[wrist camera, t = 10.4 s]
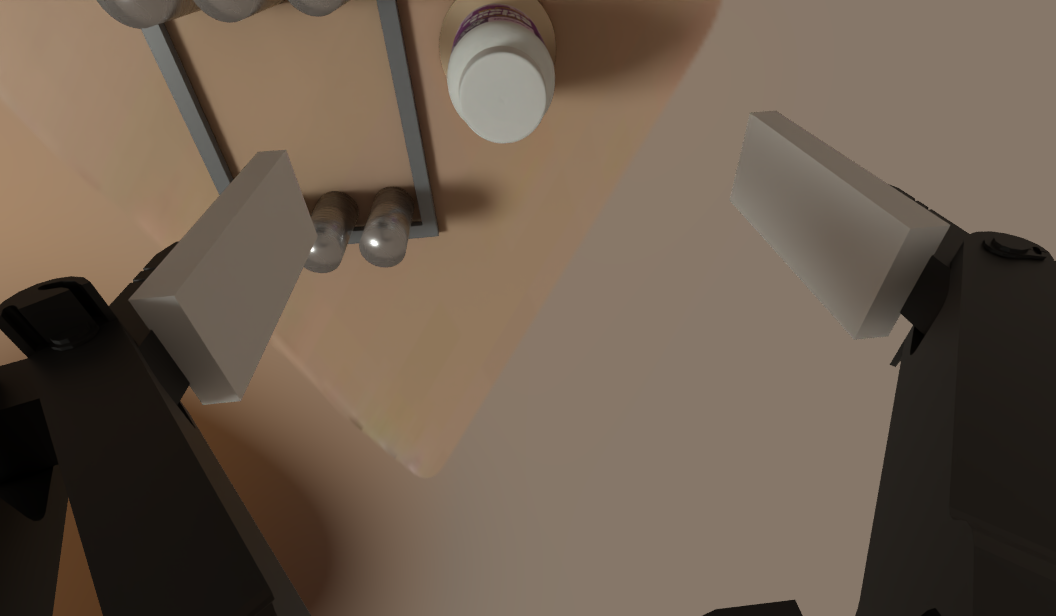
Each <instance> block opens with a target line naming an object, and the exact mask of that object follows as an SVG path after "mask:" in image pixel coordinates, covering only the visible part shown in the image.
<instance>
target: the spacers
mask: <svg viewBox="0 0 1056 616" xmlns="http://www.w3.org/2000/svg"><path fill="white" fill-rule="evenodd" d="M97 1H98V3H99V4H100V5H101V7H102V8H103V9H104V10H105V11H106V12H107V13H108V14H109V15H110V16H111V17H113V18H114V19H116V20H117V21H119V22H120V23H122V24H124V25H127V26H129V27H133V28H139V29H143V28H149V27H152V26H155V25H158V24H161V23H164V22H167V21H170V20H173V19H176V18H179V17H182V16H185V15H188V14H191V13H194V12H197V11H200V10H202V11H204V12H205V13H206V14H207V15H209V16H211V17H212V18H214V19H217V20H219V21H223V22H237V21H240V20H242V19H245V18H247V17H249V16H252V15H254V14H256V13H259V12H261V11H263V10H266V9H268V8H270V7H273V6H275V5H277V4H279V3H281V2H283V1H284V0H97ZM288 1H289V2H290V3H291V4H292V5H293V6H294V7H295V8H296V9H298V10H299V11H301V12H303V13H305V14H307V15H311V16H325V15H328V14H330V13H331V12H333V11H334V10H336V9H338V8H339V7H341V6H342V5H344V4H345V3H347V2H348V1H350V0H288ZM413 212H414V202H413V199H412V198H411V196H410V195H409V194H408V193H407V192H406V191H404V190H403V189H401V188H397V187H387V188H384V189H382V190H380V191H379V192H378V193H377V195H376V197H375V199H374V202H373V205H372V208H371V211H370V214H369V217H368V219H367V222H366V225H365V228H364V231H363V234H362V237H361V240H360V243H359V248H360V252H361V254H362V256H363V257H364V258H365V259H366V260H367V261H368V262H369V263H371V264H373V265H375V266H379V267H392V266H395V265H397V264H398V263H400V262H401V261H402V260H403V258H404V256H405V253H406V248H407V242H408V237H409V232H410V227H411V222H412V217H413ZM358 214H359V211H358V207H357V205H356V203H355V201H354V200H353V199H352V198H351V197H349V196H348V195H346V194H344V193H341V192H328V193H326V194H324V195H323V196H321V198H320V199H319V201H318V203H317V205H316V206H315V208H314V210H313V212H312V214H311V216H310V217H311V219H312V222H313V225H314V227H315V230H316V233H317V236H318V237H317V239H316V241H315V243H314V245H313V247H312V250H311V252H310V254H309V256H308V258H307V260H306V262H305V265H304V268H306V269H308V270H310V271H313V272H317V273H327V272H331V271H333V270H335V269H336V268H337V267H338V266H339V265H340V263H341V260H342V257H343V255H344V252H345V250H346V247H347V244H348V242H349V239H350V236H351V234H352V231H353V229H354V226H355V223H356V221H357V218H358Z"/></svg>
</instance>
